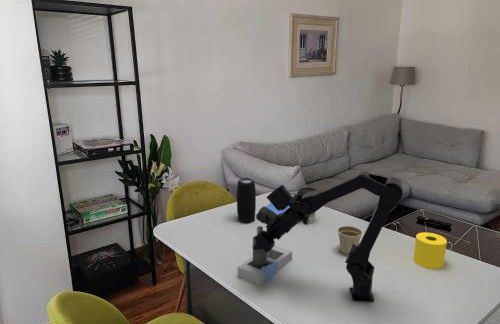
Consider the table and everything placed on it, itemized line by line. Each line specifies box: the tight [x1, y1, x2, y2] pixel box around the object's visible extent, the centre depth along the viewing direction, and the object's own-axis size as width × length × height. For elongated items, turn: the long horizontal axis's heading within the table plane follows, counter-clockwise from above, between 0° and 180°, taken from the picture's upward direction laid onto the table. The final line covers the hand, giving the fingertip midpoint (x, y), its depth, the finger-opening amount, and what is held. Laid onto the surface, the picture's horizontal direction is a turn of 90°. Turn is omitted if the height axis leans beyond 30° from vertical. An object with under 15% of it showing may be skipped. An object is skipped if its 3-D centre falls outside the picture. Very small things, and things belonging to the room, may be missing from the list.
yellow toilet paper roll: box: [413, 231, 448, 270], centre depth 137 cm, size 10×10×9 cm
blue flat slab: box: [256, 202, 289, 215], centre depth 187 cm, size 19×13×1 cm, turn 153°
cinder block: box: [236, 245, 293, 286], centre depth 134 cm, size 10×21×4 cm, turn 144°
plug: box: [252, 225, 267, 269], centre depth 129 cm, size 5×5×14 cm
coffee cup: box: [296, 187, 317, 225], centre depth 173 cm, size 10×10×15 cm
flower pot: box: [336, 225, 364, 256], centre depth 145 cm, size 9×9×9 cm
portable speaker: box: [236, 177, 257, 224], centre depth 174 cm, size 9×9×20 cm
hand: (256, 245), depth 130 cm, fingers closed on plug, 5 cm apart
